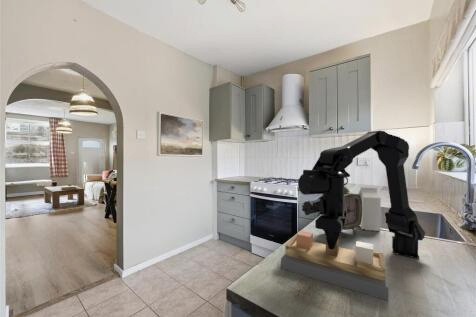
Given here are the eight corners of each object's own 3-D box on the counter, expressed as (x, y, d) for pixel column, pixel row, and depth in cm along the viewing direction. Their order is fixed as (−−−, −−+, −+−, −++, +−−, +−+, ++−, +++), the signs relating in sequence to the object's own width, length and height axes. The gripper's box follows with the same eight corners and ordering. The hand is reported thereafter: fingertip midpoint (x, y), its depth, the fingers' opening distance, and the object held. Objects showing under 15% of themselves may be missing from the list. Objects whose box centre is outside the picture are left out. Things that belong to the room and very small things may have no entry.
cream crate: (372, 258, 58) (373, 244, 58) (373, 265, 55) (373, 249, 55) (356, 255, 61) (356, 241, 60) (355, 260, 57) (355, 246, 57)
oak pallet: (383, 264, 60) (383, 231, 60) (385, 282, 51) (386, 244, 51) (294, 244, 73) (295, 217, 73) (285, 256, 64) (285, 225, 64)
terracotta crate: (312, 245, 67) (312, 232, 67) (309, 250, 63) (309, 236, 63) (299, 242, 69) (300, 230, 69) (296, 247, 65) (296, 234, 65)
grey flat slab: (384, 272, 61) (384, 262, 61) (388, 300, 49) (388, 287, 49) (294, 250, 75) (295, 242, 75) (280, 268, 63) (281, 258, 63)
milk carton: (380, 231, 95) (381, 189, 95) (362, 230, 96) (363, 188, 96) (373, 226, 102) (374, 186, 101) (357, 225, 103) (357, 186, 103)
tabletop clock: (338, 240, 84) (339, 177, 84) (320, 233, 92) (321, 175, 92) (361, 234, 91) (362, 176, 90) (343, 228, 99) (343, 174, 98)
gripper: (311, 186, 74) (311, 231, 74) (296, 194, 58) (295, 251, 58) (347, 189, 68) (347, 237, 68) (341, 199, 52) (340, 262, 52)
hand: (332, 245), depth 62 cm, fingers closed on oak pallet, 4 cm apart
